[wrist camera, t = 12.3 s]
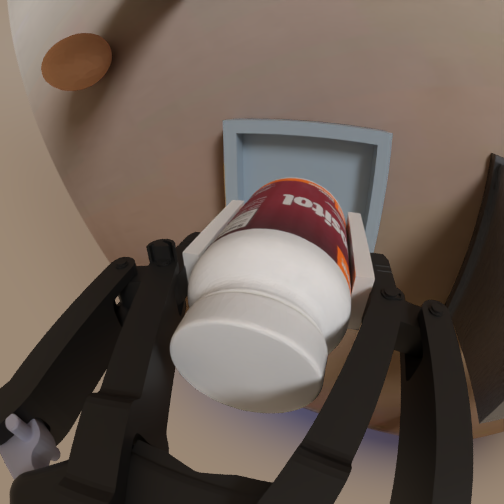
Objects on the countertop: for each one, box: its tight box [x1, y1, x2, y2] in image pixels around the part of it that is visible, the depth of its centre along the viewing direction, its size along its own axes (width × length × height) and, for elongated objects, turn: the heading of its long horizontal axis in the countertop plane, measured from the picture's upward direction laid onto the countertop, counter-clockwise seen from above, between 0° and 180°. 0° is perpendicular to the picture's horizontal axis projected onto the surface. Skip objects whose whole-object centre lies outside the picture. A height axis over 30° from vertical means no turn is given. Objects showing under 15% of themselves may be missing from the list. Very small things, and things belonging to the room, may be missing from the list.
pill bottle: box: [170, 177, 351, 413], centre depth 12 cm, size 6×6×11 cm
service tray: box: [223, 119, 393, 253], centre depth 21 cm, size 12×12×2 cm
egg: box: [41, 33, 112, 91], centre depth 16 cm, size 6×6×8 cm
